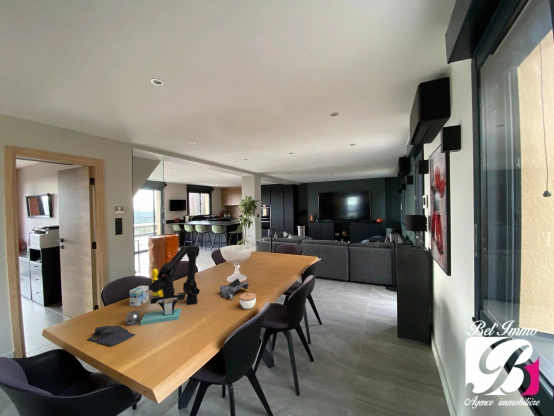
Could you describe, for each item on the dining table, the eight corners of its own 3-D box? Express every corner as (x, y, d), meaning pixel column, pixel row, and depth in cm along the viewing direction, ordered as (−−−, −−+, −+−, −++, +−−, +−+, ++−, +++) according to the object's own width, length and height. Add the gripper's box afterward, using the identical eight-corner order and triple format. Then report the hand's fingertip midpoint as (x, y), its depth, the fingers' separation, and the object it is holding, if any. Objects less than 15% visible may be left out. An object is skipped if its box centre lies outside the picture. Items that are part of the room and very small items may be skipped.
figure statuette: (170, 297, 168) (169, 268, 168) (161, 301, 161) (160, 271, 161) (155, 293, 177) (155, 265, 176) (146, 297, 170) (145, 268, 170)
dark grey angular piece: (217, 294, 172) (217, 282, 172) (239, 287, 185) (239, 276, 185) (229, 301, 159) (229, 288, 159) (252, 293, 172) (252, 281, 172)
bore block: (180, 311, 145) (180, 307, 145) (178, 320, 134) (178, 315, 134) (145, 316, 139) (145, 312, 139) (140, 325, 128) (140, 321, 128)
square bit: (173, 313, 140) (172, 300, 140) (172, 316, 136) (171, 303, 136) (166, 314, 139) (165, 301, 139) (164, 317, 135) (164, 304, 135)
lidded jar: (259, 307, 148) (259, 292, 148) (247, 313, 141) (246, 298, 140) (249, 302, 156) (248, 289, 156) (236, 308, 148) (236, 293, 148)
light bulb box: (137, 306, 154) (137, 291, 154) (129, 306, 155) (128, 290, 155) (149, 300, 164) (149, 285, 164) (141, 299, 166) (141, 285, 166)
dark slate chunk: (106, 353, 106) (106, 343, 106) (84, 340, 116) (83, 331, 116) (139, 335, 119) (139, 327, 119) (116, 326, 130) (116, 318, 130)
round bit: (141, 320, 135) (140, 310, 135) (137, 325, 129) (137, 315, 129) (128, 321, 134) (128, 311, 134) (124, 327, 127) (124, 316, 127)
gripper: (186, 280, 148) (186, 303, 148) (154, 283, 143) (155, 308, 143) (184, 286, 137) (184, 311, 137) (149, 290, 132) (150, 316, 132)
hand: (169, 311), depth 138 cm, fingers open, 4 cm apart
